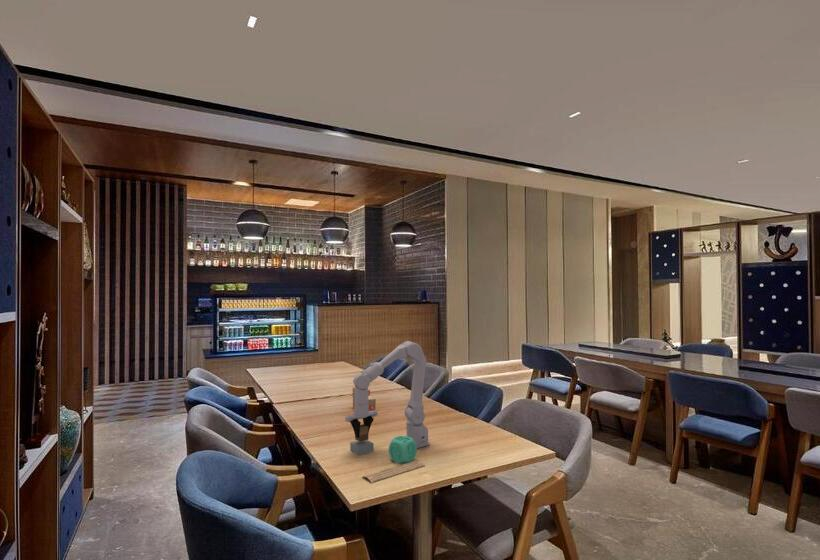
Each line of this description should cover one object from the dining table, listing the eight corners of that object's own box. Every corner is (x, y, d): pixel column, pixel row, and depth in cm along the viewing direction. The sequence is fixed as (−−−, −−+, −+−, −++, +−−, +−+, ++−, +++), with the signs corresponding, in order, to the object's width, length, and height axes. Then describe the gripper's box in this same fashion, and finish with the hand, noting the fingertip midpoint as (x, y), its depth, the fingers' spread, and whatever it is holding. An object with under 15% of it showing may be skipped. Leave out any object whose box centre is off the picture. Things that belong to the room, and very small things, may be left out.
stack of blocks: (375, 416, 228) (375, 393, 229) (364, 417, 226) (364, 394, 226) (362, 407, 248) (362, 385, 248) (352, 408, 245) (352, 386, 246)
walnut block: (368, 439, 177) (368, 426, 177) (360, 441, 174) (360, 428, 175) (363, 437, 180) (363, 424, 180) (355, 439, 178) (355, 426, 178)
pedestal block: (373, 451, 176) (373, 443, 177) (359, 455, 172) (358, 446, 172) (364, 447, 182) (364, 438, 182) (350, 450, 178) (350, 442, 178)
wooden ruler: (371, 485, 145) (371, 480, 146) (360, 478, 151) (360, 473, 151) (424, 468, 160) (424, 463, 160) (413, 462, 165) (413, 457, 165)
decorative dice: (401, 454, 172) (401, 434, 172) (417, 459, 167) (417, 438, 167) (388, 460, 166) (388, 439, 166) (404, 465, 161) (403, 444, 161)
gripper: (370, 398, 185) (371, 430, 185) (341, 404, 176) (341, 437, 176) (380, 401, 180) (380, 434, 179) (350, 407, 171) (350, 441, 170)
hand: (361, 436), depth 177 cm, fingers closed on walnut block, 4 cm apart
